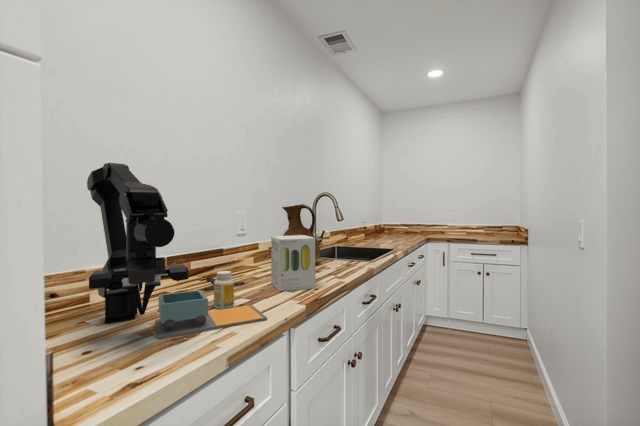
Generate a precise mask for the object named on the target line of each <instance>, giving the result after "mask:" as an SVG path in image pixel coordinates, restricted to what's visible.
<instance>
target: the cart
mask: <svg viewBox="0 0 640 426" xmlns="http://www.w3.org/2000/svg"><path fill="white" fill-rule="evenodd" d="M208 300H209V299H208V297H207V295H205V293H204V292H203V291H202V290H201V289H198V290H197V289H196V290H188V291H180V292H171V293H163V294H162V293H161V294H158V314H159V319H160V320H161V324H162V323H163V327H164V329H165V330H167V331H170V330H172V329H174V327H175V325H176V323H175V321H181V320H188V319H194V321H195V323H196V324H197V325H203V324H204V323H205V322H206V317H207V316H208V311H209V301H208Z"/></svg>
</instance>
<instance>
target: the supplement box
mask: <svg viewBox="0 0 640 426" xmlns="http://www.w3.org/2000/svg"><path fill="white" fill-rule="evenodd" d="M270 238H271V239H270V240H271V245H270V248H271V249H270V250H271V256H270V257H271V261H270V263H271V266H270V267H271V268H270V269H271V270H270V271H271V273H270V274H271V277H270V278H271V279H270V281H271V284H272V285H273V287H274V288H275V289H276V290H277V291H278V292H283V291H285V292H286V291H287V292H288V291H297V290H306V289H307V290H311V289H316V261H315V238H316V237H315V238H314V237H310V236H306V235H296V236H283V235H272V236H270Z"/></svg>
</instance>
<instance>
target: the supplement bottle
mask: <svg viewBox="0 0 640 426" xmlns="http://www.w3.org/2000/svg"><path fill="white" fill-rule="evenodd" d="M216 278H217V279H214V280H215V282H214V290H213V307H214V308H215V309H217V310H221V309H227V308H233V307H234V305H235V286H234V283H235V281H234V279H233V278H232V271H231V270H221V271H217V272H216Z"/></svg>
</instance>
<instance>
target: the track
mask: <svg viewBox="0 0 640 426" xmlns="http://www.w3.org/2000/svg"><path fill="white" fill-rule="evenodd" d="M267 320H268V317H267V316H266V315H265V314H264V313H262V312H261V311H260V310H258V308H256V307H255V306H254V305H252V304H251V305H243V306H236V307H234V306H233V307H230V308H225V309H215V310H208V316H207V317H206V322H205V323H204V324H203V325H197V324H196V323H195V321H194V319H188V320H181V321H175V323H176V325H175V327H174V329H172V330H170V331H167V330H165V329H164V327H163V323H162V324H161V320H160V318H157V319H155V321H154V323H155V328H156V334H157V335H156V336H157V340H161V339H166V338H173V337H179V336H184V335H188V334H189V335H190V334H195V333H202V332H207V331H213V330H218V329H223V328H230V327H235V326H241V325H248V324H252V323H257V322H264V321H267Z"/></svg>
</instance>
